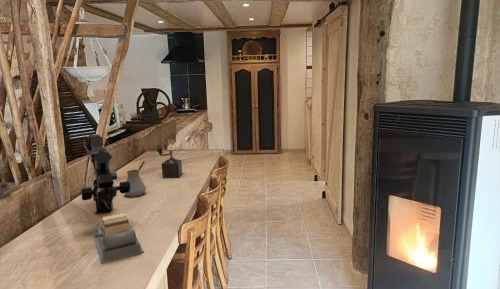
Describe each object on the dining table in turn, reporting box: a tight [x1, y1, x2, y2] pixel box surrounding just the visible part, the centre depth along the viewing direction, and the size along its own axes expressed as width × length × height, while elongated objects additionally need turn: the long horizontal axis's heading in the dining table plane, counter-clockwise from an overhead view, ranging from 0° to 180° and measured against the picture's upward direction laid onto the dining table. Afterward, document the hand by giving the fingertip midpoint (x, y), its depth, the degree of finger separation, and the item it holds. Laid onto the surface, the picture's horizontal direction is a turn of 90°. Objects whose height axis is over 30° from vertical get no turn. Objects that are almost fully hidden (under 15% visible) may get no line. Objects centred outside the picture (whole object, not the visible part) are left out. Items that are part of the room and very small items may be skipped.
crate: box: [101, 212, 130, 236], centre depth 131 cm, size 7×8×10 cm
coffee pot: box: [124, 160, 148, 198], centre depth 193 cm, size 21×12×15 cm, turn 173°
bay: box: [92, 223, 144, 264], centre depth 133 cm, size 29×15×10 cm, turn 29°
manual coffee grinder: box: [156, 146, 183, 179], centre depth 221 cm, size 16×11×18 cm
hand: (109, 208), depth 143 cm, fingers closed
